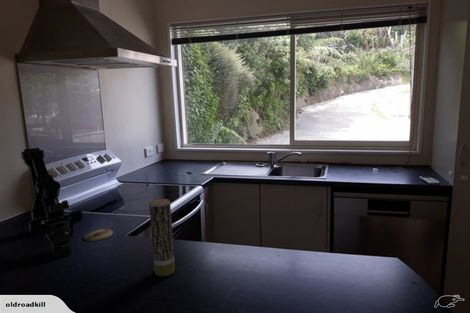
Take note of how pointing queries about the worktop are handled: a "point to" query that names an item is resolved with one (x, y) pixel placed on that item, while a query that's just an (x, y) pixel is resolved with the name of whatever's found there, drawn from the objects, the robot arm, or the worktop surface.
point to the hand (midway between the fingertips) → (62, 239)
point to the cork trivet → (98, 235)
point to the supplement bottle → (61, 241)
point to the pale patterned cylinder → (162, 237)
